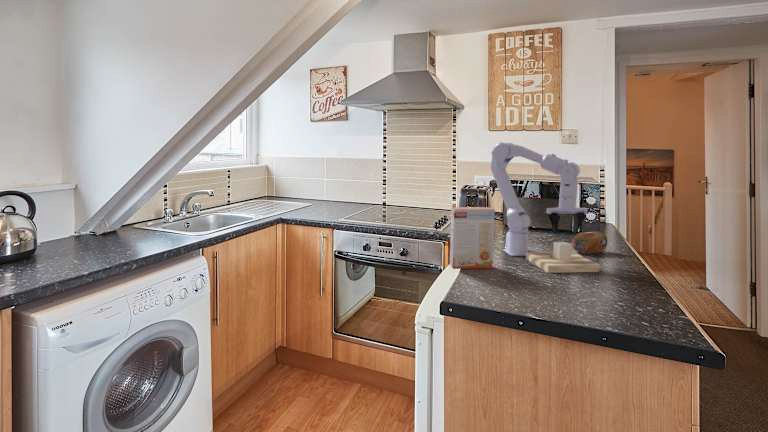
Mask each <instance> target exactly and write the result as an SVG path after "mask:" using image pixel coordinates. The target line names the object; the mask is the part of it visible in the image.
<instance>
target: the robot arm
mask: <svg viewBox="0 0 768 432" xmlns="http://www.w3.org/2000/svg"><path fill="white" fill-rule="evenodd" d="M516 157H521V158H523V159H526V160H529V161H532V162H534V163H537V164H540V168H541V169H543V170H545V171H548V172H550V173H552V174H555V175H557V176H560V184H559V185H560V186H559V196H558V197H559V199H558V207H546V214H547V217H548V219H549V221H550V224H551V228H552V233H553V234H555V235H556V234H558V233H559V223H560V222H559V221H560V219H561V215H560V214H572V215H571V216H572V233H573V234H578V233H579V229H580V227H581V225H582V223H583V221H584V220H585V219H586V217H587V214H588V208H586V207H577V196H578V186H579V185H578V180H579V179H578V176H579V175H580V172H581V169H580V166H579V165H578V164H576V163H575V162H569V160H568V159H567V158H566V159H562V158H560V157H558V156H557V154H555V153H552V154H551V153H549V154H545V155H542V154H540V153H538V152H537V151H533V150H532V149H530V148H527V147H525V146H523V145H519V144H514V143H512V142H498V143H496V144H495V146H494V147H493V149H492V150H491V163H490V171H491V173H492V175H493V178H494V180H495V183H496V186H497V188H498V190H499V193H500V196H501V198H502V201H503V203H504V206H505V207H506V219H507V227H508V229H509V231H507V233H506V235H505V248H503V249H502V250H503V252H505V253H507V254H508V255H509V256H512V257H515V256H517V257H519V256H520V257H521V256H525V257H526V252H528V249H529V248H528V247H529V246H528V243H529V232H530V231H529V227H530V226H531V224H532V220H531V217H530V215H529V214H527V213H526V211H525V209H524V208H523V207H522V206H521V204H520V201H519V199H518V196H517V194H516V192H515V189H514V186H513V184H512V181H511V179H510V177H509V174H508V170H507V167H508V165H509V163H510V162H511V160H513V159H514V158H516Z"/></svg>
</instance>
